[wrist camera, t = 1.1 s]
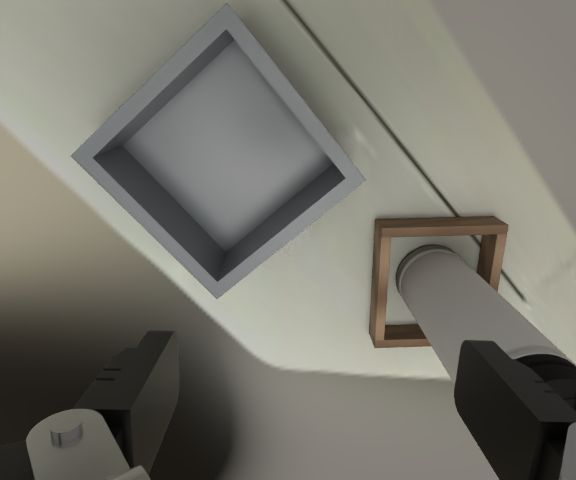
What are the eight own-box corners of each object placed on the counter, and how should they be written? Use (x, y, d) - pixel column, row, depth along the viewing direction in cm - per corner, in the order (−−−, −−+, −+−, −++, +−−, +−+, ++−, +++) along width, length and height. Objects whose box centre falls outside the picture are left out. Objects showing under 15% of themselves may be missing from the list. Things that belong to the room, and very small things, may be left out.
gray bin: (108, 142, 35) (70, 155, 28) (236, 19, 32) (227, 2, 25) (226, 262, 39) (216, 299, 32) (349, 162, 36) (366, 179, 29)
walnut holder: (375, 219, 38) (382, 228, 35) (493, 216, 38) (508, 224, 36) (369, 333, 42) (374, 348, 39) (476, 329, 42) (488, 344, 40)
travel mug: (394, 311, 41) (497, 502, 22) (395, 246, 39) (510, 399, 20) (459, 306, 41) (616, 493, 22) (464, 241, 39) (644, 389, 20)
